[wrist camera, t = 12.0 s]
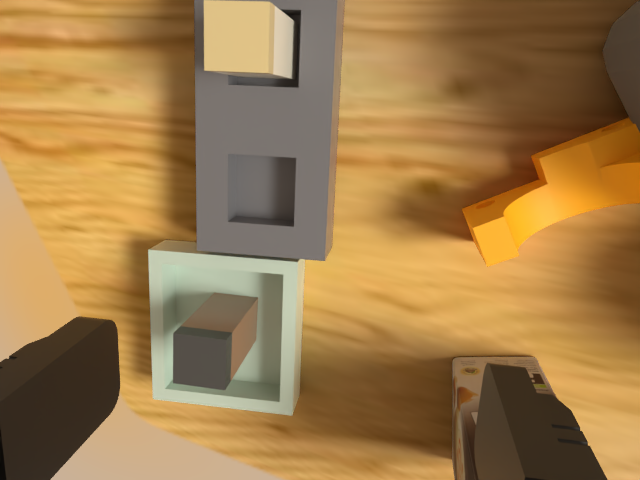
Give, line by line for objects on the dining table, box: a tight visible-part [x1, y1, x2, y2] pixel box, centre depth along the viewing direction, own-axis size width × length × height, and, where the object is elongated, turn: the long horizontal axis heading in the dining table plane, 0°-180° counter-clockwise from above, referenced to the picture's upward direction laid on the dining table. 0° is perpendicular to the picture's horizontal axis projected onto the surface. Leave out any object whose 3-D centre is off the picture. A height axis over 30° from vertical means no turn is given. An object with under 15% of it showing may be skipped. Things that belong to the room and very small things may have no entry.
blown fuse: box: [173, 292, 258, 390], centre depth 39 cm, size 4×4×8 cm
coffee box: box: [452, 357, 556, 480], centre depth 35 cm, size 9×6×16 cm
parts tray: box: [148, 240, 305, 416], centre depth 42 cm, size 12×11×3 cm
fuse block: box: [194, 0, 345, 261], centre depth 38 cm, size 18×9×4 cm, turn 178°
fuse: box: [204, 0, 298, 80], centre depth 33 cm, size 4×4×8 cm
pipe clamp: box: [462, 117, 640, 267], centre depth 35 cm, size 12×4×6 cm, turn 113°
